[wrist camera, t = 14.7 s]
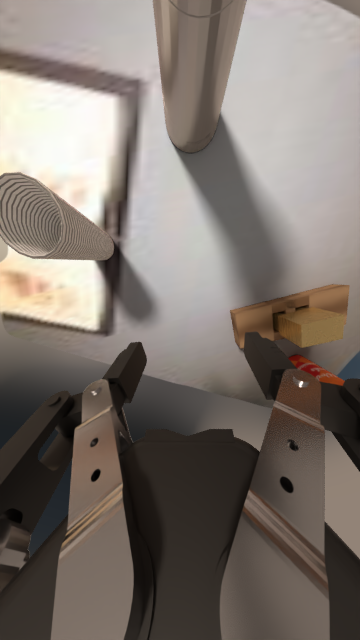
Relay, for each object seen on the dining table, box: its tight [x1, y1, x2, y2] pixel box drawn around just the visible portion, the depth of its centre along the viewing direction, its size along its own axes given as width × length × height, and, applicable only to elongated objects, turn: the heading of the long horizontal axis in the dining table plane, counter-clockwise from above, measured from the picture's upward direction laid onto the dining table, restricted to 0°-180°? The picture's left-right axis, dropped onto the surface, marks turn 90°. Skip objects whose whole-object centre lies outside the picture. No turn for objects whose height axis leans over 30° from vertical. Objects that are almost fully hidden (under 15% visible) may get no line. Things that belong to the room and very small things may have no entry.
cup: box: [0, 172, 114, 260], centre depth 23 cm, size 8×8×16 cm
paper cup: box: [288, 355, 345, 386], centre depth 33 cm, size 8×8×14 cm
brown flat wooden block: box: [230, 284, 349, 348], centre depth 33 cm, size 9×24×4 cm, turn 105°
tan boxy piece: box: [272, 307, 344, 348], centre depth 30 cm, size 5×7×11 cm, turn 106°
